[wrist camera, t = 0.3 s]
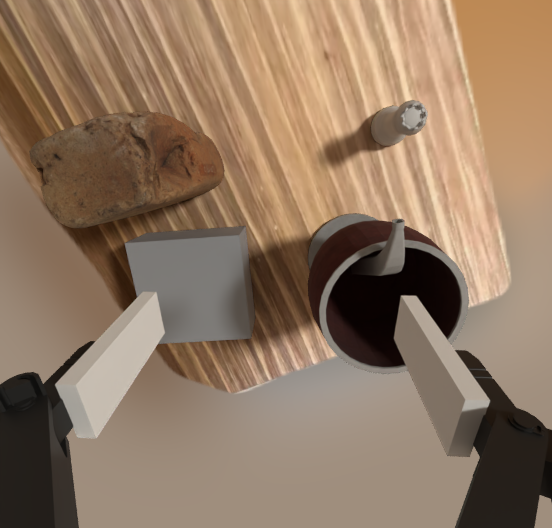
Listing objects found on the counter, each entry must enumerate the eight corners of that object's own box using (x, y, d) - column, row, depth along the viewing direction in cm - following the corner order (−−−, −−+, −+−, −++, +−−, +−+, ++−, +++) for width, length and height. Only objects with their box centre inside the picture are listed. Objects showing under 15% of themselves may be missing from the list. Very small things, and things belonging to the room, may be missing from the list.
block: (159, 208, 41) (51, 243, 22) (136, 152, 39) (-4, 137, 20) (234, 185, 40) (189, 201, 21) (215, 126, 38) (145, 84, 19)
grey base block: (146, 233, 42) (124, 243, 37) (245, 226, 42) (239, 235, 36) (164, 322, 46) (148, 344, 41) (255, 317, 46) (251, 338, 40)
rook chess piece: (362, 128, 38) (382, 117, 30) (390, 98, 37) (418, 80, 29) (385, 154, 38) (411, 150, 31) (413, 126, 37) (447, 115, 30)
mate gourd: (403, 294, 44) (495, 390, 25) (309, 308, 45) (327, 410, 26) (398, 186, 40) (503, 203, 21) (293, 205, 41) (301, 237, 22)
